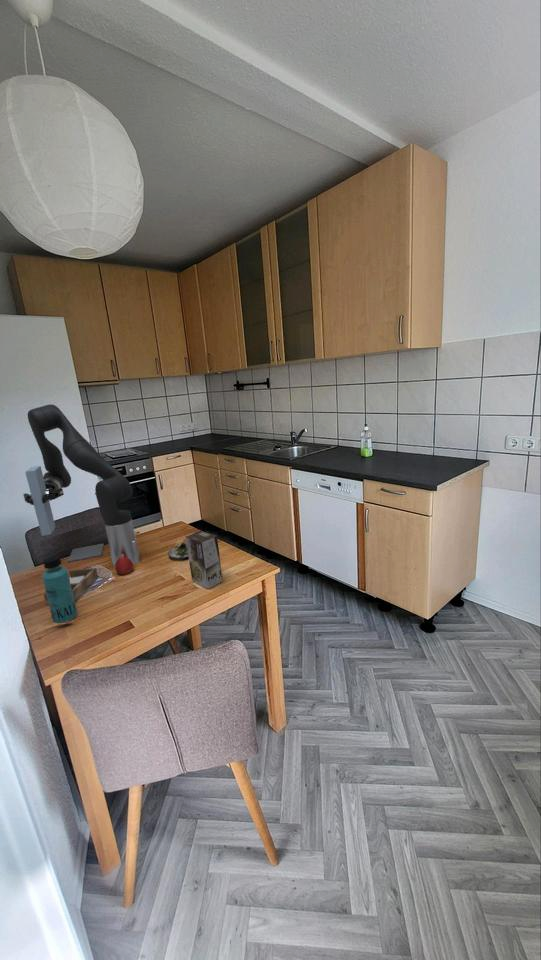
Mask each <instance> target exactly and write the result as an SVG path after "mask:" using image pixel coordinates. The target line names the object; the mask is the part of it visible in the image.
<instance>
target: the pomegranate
mask: <svg viewBox="0 0 541 960" xmlns="http://www.w3.org/2000/svg"><path fill="white" fill-rule="evenodd" d="M133 568H134V564H133V563H132V561H131V559H129V558H128V557H125V556H124V554H122V555H121V557H120V558H119V559H118V560H117V561H116V564H115V567H114V569H115V572H116V573H117V574H119V575H122V576H123V575H125V576H126V575H127V574H130V573H132V570H133Z"/></svg>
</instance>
